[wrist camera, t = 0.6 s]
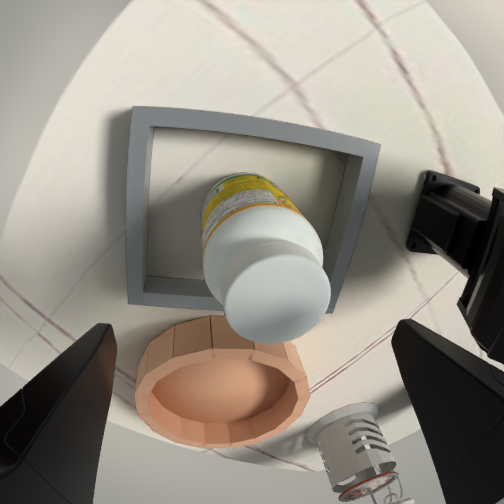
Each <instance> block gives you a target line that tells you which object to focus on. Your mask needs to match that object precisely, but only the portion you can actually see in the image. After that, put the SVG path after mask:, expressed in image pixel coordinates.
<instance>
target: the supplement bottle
mask: <svg viewBox="0 0 504 504" xmlns="http://www.w3.org/2000/svg"><path fill="white" fill-rule="evenodd" d="M201 226H202V261H203V273H204V277H205V281H206V284H207V286H208V288H209V290H210V291H211V293H212V294H213V296H214V297H215V298H216V299H217V300H218V301H219V302H220V303H221V304H222V305H223V307H224V312H225V316H226V319H227V321H228V323H229V324H230V326H231V327H232V329H233V330H234V331H235V332H237V333H238V334H239V335H240V336H242V337H244V338H246V339H248V340H250V341H253V342H257V343H264V344H274V343H282V342H286V341H290V340H293V339H295V338H297V337H300V336H301V335H303V334H305V333H307V332H308V331H309V330H311V329H312V328H313V327H314V326H315V325H316V324H317V323H318V322H319V321H320V320H321V318H322V317H323V316H324V314H325V312H326V310H327V308H328V305H329V302H330V297H331V288H330V283H329V279H328V277H327V275H326V273H325V272H324V270H323V268H322V267H323V250H322V245H321V242H320V239H319V237H318V235H317V233H316V231H315V230H314V228H313V227H312V225H311V224H310V223H309V222H308V221H307V219H306V218H305V217H304V216H303V214H302V213H301V212H300V211H299V210H298V209H297V208H296V206H295V205H294V204H293V203H292V202H291V201H290V200H289V198H288V197H287V196H286V195H285V194H284V193H283V191H282V190H281V189H280V188H279V187H278V186H277V185H275V184H274V183H273V182H272V181H270V180H269V179H267V178H266V177H264V176H262V175H259V174H255V173H238V174H234V175H231V176H228V177H226V178H224V179H222V180H221V181H220V182H218V183H217V184H216V185H215V186H214V187H213V188H212V189H211V190H210V192H209V193H208V195H207V196H206V198H205V201H204V203H203V207H202V214H201Z"/></svg>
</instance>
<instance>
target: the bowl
mask: <svg viewBox="0 0 504 504" xmlns="http://www.w3.org/2000/svg"><path fill="white" fill-rule="evenodd" d="M134 396H135V402H136V407H137V413H138V415H139V416H140V418H141V419H142V420H143V421H144V422H145V423H146V424H147V425H148V426H149V427H150V429H151V430H152V431H154V432H156V433H158V434H159V435H161V436H163V437H165V438H167V439H169V440H171V441H173V442H176V443H180V444H184V445H189V446H194V447H198V448H234V447H239V446H244V445H249V444H253V443H258V442H261V441H263V440H265V439H267V438H269V437H271V436H274V435H276V434H278V433H280V432H282V431H284V430H285V429H286V428H287V427H288V426H290V425H291V424H292V423H293V422H294V421H295V420H297V419H298V418H299V417H300V416H301V415H302V413H303V411H304V409H305V407H306V405H307V402H308V400H309V398H310V392H309V386H308V381H307V376H306V374H305V371H304V368H303V366H302V363H301V360H300V358H299V355H298V352H297V350H296V347H295V346H294V345H293V344H292V343H291V342H290V341H286V342H282V343H274V344H264V343H257V342H253V341H250V340H248V339H246V338H244V337H242V336H240V335H239V334H238V333H237V332H235V331H234V330H233V329H232V327H231V326H230V324H229V323H228V321H227V319H226V316H211V317H210V316H207V317H203V318H199V319H195V320H192V321H188V322H184V323H180V324H176V325H174V326H172V327H171V328H169V329H168V330H166V331H165V332H164V333H162V334H161V335H159V336H158V337H156V338H155V339H153V340H152V341H151V342H150V343H149V345H148V346H147V348H146V350H145V352H144V354H143V356H142V358H141V360H140V362H139V366H138V373H137V379H136V387H135V394H134Z"/></svg>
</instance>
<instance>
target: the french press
mask: <svg viewBox="0 0 504 504" xmlns="http://www.w3.org/2000/svg"><path fill="white" fill-rule="evenodd" d="M378 415H379V407H377V406H376V405H375V404H374V403H365V402H362V403H357V404H352V405H348V406H345V407H343V408H340V409H337V410H335V411H332V412H331V413H329V414H327V415H326V416H324V417H322V418H321V419H319V420H318V421H317V422H316V423H315V424H314V425H313V426H311V427H310V428H309V431H308V433H307V435H306V437H307V440H308V442H310V443H312V444H314V445H317V446H318V448H319V451H321V452H322V453H323V454H321V453H320V454H321V457H322V460H323V459H324V460H325V461H326V463H325V462H324V461H323V463H324V466H325V469H326V468H327V469H328V470H330V472H328V471H327V470H326V471H327V474H328V477H329V480H330V483H331V486H332V489H333V491H334V492H337V493H341V492H342V494H341V495H340V496H339V501H342V502H347V501H349V500H350V501H351V500H352V501H353V500H355V499H357V498H360V497H361V498H362V497H365V496H367V495H370V494H371V497H372V499H373V502H374V504H377V503H376V501H375V498H374V496H373V493H375V492H377V491H380V489H383V488H385V487H387V486H388V489H389V492H390V494H389V495H388V496H386V497H385V498H384V504H386V501H385V499H386V498H388V497H389V496H390V503H389V504H391V502H392V495H394V496H395V497H396V499H397V500H398V501H397V502H395V503H392V504H413V503H414V501H415V499H412V498H407V499H404V500H401V498H402V496H403V490H402V484H401V482H400V480H399V477H398V473H397V472H396V471H395V469H394V468H395V466H396V462H395V459H394V457H393V455H391V454H390V449H389V447H388V446H387V443H386V440H385V438H383V435H382V432H381V430H380V429H379V426H378V424H377V422H376V419H377V417H378ZM379 432H380V433H379ZM362 436H366V438H367V440H361V437H362ZM368 444H369V445H370V447H371V449H365V447H364V445H368ZM386 448H387V449H386ZM377 464H378V465H379V467H380V469H381V470H380V469H379V468H378V467H377V466H376V465H377ZM373 466H374V467H375V468H376V469H378V471H379V472H380V473H381V474H378V475H376V472H375V470H374V467H373ZM392 470H393V471H392ZM391 471H392V472H391ZM353 475H355V476H356V479H355V480H353V481H352V482H350V483H348V484H346V485H337V484H338V483H339V482H341V481H344V480H346V479H348V478H350V477H351V476H353ZM396 479H398V481H399V484H400V488H401V496H400V498H398V497H397V494H395V493H391V488H390V486H389V485H390V484H391V483H392V482H394V481H395V480H396Z"/></svg>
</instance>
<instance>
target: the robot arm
mask: <svg viewBox="0 0 504 504" xmlns="http://www.w3.org/2000/svg"><path fill="white" fill-rule="evenodd" d="M432 176H434V177H433V179H432ZM479 194H480V188H479V187H478V186H475V185H473V184H470V183H467V182H465V181H462V180H459V179H456V178H453V177H450V176H448V175H445V174H442V173H439V172H436V171H429V172H428V173H427V176H426V179H425V183H424V187H423V191H422V194H421V198H420V201H419V205H418V208H417V211H416V215H415V218H414V221H413V224H412V227H411V230H410V233H409V236H408V239H407V242H406V248H407V249H408V250H409V251H411V252H419V253H428V254H437V255H440V256H441V257H443V258H444V259H445V260H446V261H448V262H449V263H450V264H451V265H452V266H454V267H455V268H456V269H457V270H458V271H460V272H461V273H462V274H463V275H464V276H466V277H467V278H468V280H467V283H466V286H465V288H464V291H463V293H462V296H461V297H460V298H459V300H458V302H457V306H458V308H459V310H460V311H461V313H462V315H463V317H464V319H465V321H466V323H467V325H468V327H469V329H470V332H471V335H472V336H473V338H474V339H475V341H476V342H477V344H478V345H479V347H480V348H481V349H482V350H484V351H485V352H486V353H488V354H487V356H488V358H490V359H493V360H495V361H498V362H500V363H502V364H504V189H500V188H495V187H494V188H493V193H492V196H493V198H492V201H490V200H488V199H486V198H484V197H482V196H480V195H479ZM412 244H413V245H412ZM411 245H412V246H411ZM391 344H392V348H393V351H394V354H395V357H396V360H397V364H398V367H399V370H400V374H401V377H402V380H403V383H404V385H405V388H406V390H407V393H408V395H409V398H410V400H411V403H412V405H413V408H414V411H415V413H416V416H417V418H418V421H419V424H420V426H421V429H422V432H423V434H424V437H425V440H426V443H427V445H428V448H429V451H430V454H431V457H432V460H433V463H434V466H435V469H436V472H437V475H438V478H439V480H440V481H439V482H440V485H441V488H442V491H443V495H444V498H445V502H446V504H504V372H503V371H502V370H500V369H498V368H496V367H495V366H493V365H491V364H489V363H488V362H486V361H484V360H483V359H481V358H479V357H477V356H476V355H474V354H472V353H470V352H469V351H467V350H465V349H463V348H462V347H460V346H458V345H456V344H455V343H453V342H451V341H449V340H448V339H446V338H444V337H442V336H441V335H439V334H437V333H435V332H434V331H432V330H430V329H428V328H427V327H425V326H423V325H421V324H419V323H418V322H416V321H414V320H412V319H402V320H400V321H399V322H398V325H397V327H396V329H395V332H394V334H393V336H392V340H391ZM116 355H117V345H116V340H115V336H114V332H113V327H112V325H111V324H107V323H98V324H96V325H95V326H94V327H92V328H91V329H90V330H89V331H88V332H86V333H85V334H84V335H83V336H82V337H80V338H79V339H78V340H77V341H76V342H74V343H73V344H72V345H71V346H70V347H68V348H67V349H66V350H65V351H64V352H63V353H61V354H60V355H59V356H58V357H57V358H56V359H54V360H53V361H52V362H51V363H50V364H49V365H47V366H46V367H45V368H44V369H43V370H42V371H41V372H39V373H38V374H37V375H36V376H35V377H34V378H33V379H31V380H30V381H29V382H28V383H27V384H26V385H25V386H24V387H23V389H20V390H19V391H18V392H17V393H16V394H15V395H13V396H12V397H11V398H10V399H9V400H8V401H6V402H5V403H4V404H3V405H2V406H0V504H93V497H94V489H95V482H96V475H97V469H98V463H99V457H100V451H101V446H102V440H103V435H104V430H105V424H106V420H107V415H108V411H109V406H110V401H111V396H112V388H113V379H114V370H115V362H116Z"/></svg>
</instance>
